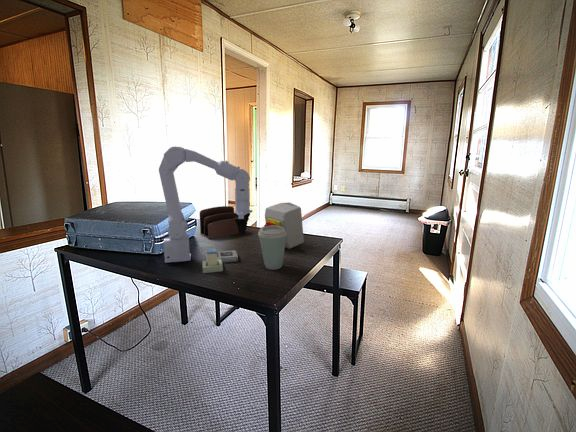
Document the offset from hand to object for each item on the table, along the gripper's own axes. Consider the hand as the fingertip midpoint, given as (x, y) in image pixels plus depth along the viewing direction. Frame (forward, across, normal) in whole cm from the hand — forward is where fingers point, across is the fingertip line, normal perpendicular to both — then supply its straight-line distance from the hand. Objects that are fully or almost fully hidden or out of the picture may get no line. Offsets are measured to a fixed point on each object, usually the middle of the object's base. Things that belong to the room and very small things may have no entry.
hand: (242, 232), depth 123 cm
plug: (+10, -14, +10) cm, 20 cm away
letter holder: (+10, +33, +14) cm, 38 cm away
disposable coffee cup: (+10, -13, -12) cm, 21 cm away
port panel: (+10, -4, +8) cm, 14 cm away
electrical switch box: (+10, +13, -16) cm, 23 cm away
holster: (+10, -14, +10) cm, 20 cm away
